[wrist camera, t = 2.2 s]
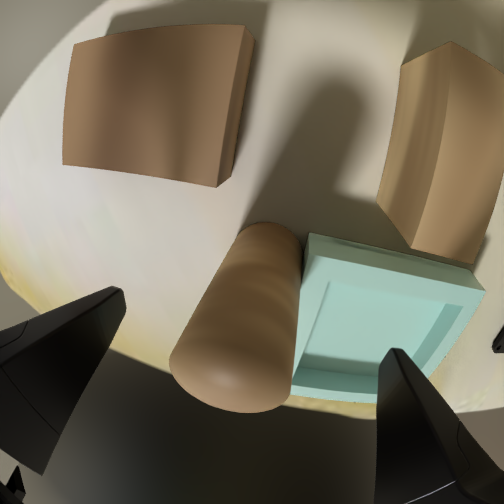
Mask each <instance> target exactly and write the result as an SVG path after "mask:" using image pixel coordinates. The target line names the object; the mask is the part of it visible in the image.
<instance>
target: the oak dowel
mask: <svg viewBox="0 0 504 504" xmlns="http://www.w3.org/2000/svg"><path fill="white" fill-rule="evenodd" d="M301 272H302V249H301V245H300V243H299V241H298V239H297V238H296V237H295V235H294V234H293V233H292V232H291V231H290V230H288V229H287V228H285V227H283V226H281V225H279V224H276V223H271V222H260V223H255V224H252V225H250V226H248V227H246V228H245V229H243V230H242V231H241V232H240V233H239V235H238V236H237V237H236V239H235V241H234V243H233V244H232V246H231V248H230V250H229V251H228V253H227V255H226V257H225V258H224V260H223V262H222V263H221V265H220V267H219V269H218V270H217V272H216V274H215V276H214V277H213V279H212V281H211V283H210V285H209V286H208V288H207V290H206V292H205V293H204V295H203V297H202V299H201V300H200V302H199V304H198V306H197V308H196V309H195V311H194V313H193V315H192V317H191V318H190V320H189V322H188V324H187V326H186V327H185V329H184V331H183V333H182V335H181V336H180V338H179V340H178V342H177V344H176V346H175V347H174V349H173V351H172V353H171V355H170V359H169V366H170V370H171V372H172V374H173V376H174V378H175V379H176V381H177V382H178V383H179V384H180V385H181V386H182V387H183V388H184V389H185V390H186V391H188V392H189V393H190V394H191V395H193V396H194V397H196V398H198V399H199V400H201V401H203V402H205V403H207V404H209V405H212V406H215V407H217V408H221V409H224V410H229V411H234V412H244V413H253V412H254V413H255V412H263V411H267V410H271V409H273V408H276V407H278V406H279V405H281V404H282V403H284V402H285V401H286V400H287V398H288V397H289V395H290V392H291V385H292V376H293V367H294V358H295V348H296V338H297V327H298V315H299V302H300V288H301Z"/></svg>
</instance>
